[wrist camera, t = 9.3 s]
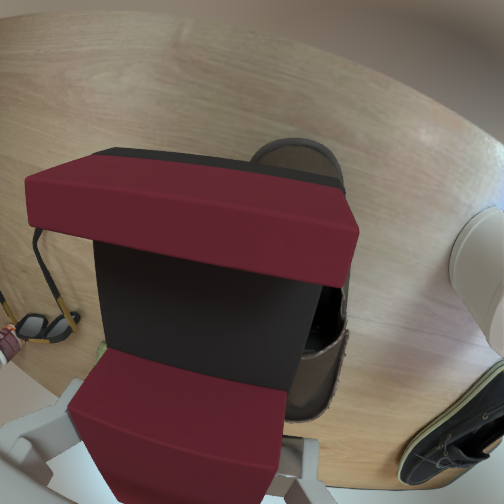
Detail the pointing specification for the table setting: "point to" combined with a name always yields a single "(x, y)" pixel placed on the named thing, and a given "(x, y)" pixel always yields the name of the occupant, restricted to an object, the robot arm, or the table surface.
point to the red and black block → (195, 311)
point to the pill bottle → (9, 344)
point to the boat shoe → (458, 432)
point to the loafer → (330, 301)
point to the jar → (482, 273)
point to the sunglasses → (36, 325)
